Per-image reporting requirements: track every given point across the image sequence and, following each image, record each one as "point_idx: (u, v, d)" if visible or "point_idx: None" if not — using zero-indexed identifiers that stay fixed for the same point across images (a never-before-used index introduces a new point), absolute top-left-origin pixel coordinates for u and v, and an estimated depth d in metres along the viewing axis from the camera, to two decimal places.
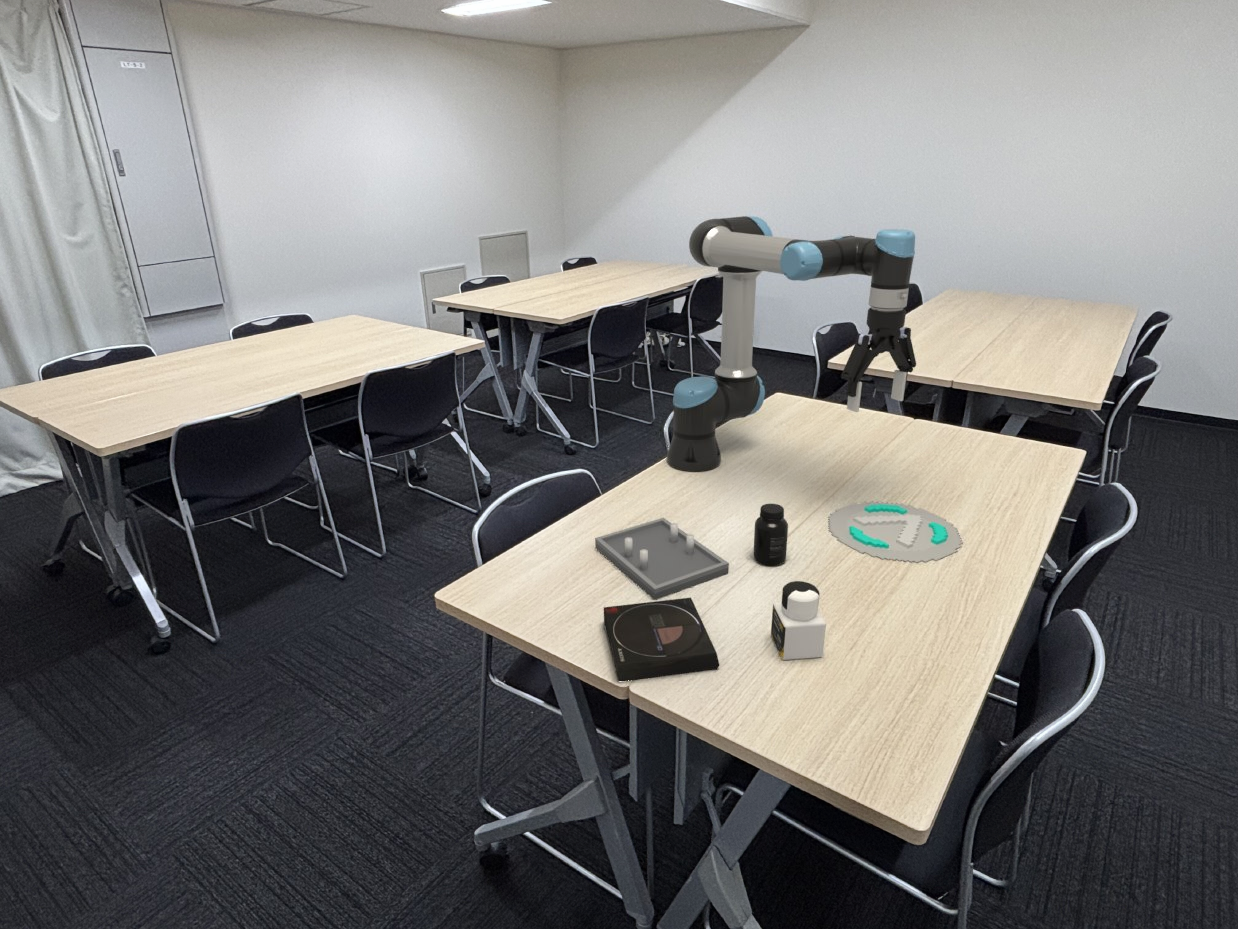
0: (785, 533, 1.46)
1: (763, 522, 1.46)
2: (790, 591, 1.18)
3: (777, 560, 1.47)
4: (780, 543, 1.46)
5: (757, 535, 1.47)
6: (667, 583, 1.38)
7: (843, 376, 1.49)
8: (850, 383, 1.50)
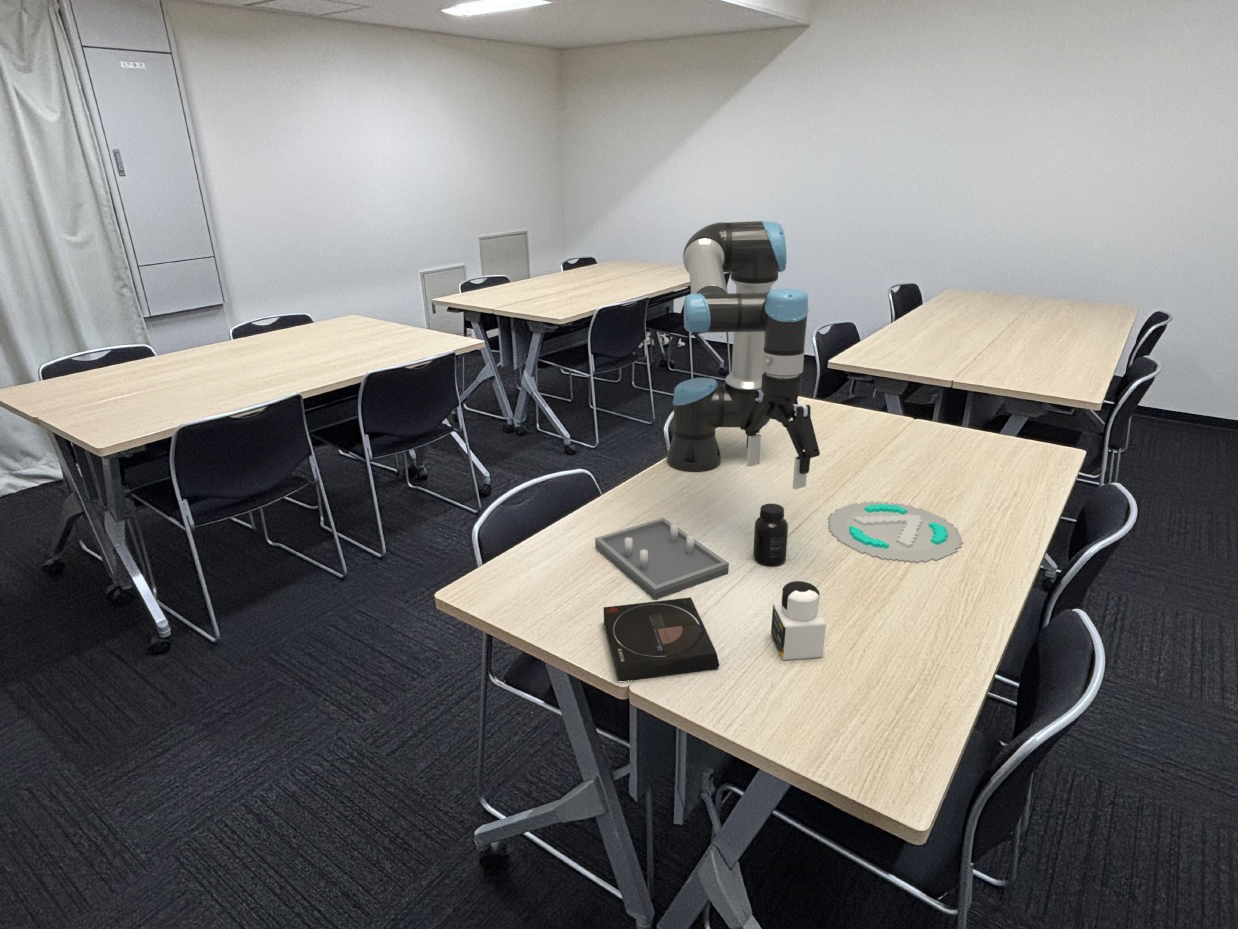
0: (785, 533, 1.46)
1: (763, 522, 1.46)
2: (790, 591, 1.18)
3: (777, 560, 1.47)
4: (780, 543, 1.46)
5: (757, 535, 1.47)
6: (667, 583, 1.38)
7: None
8: None
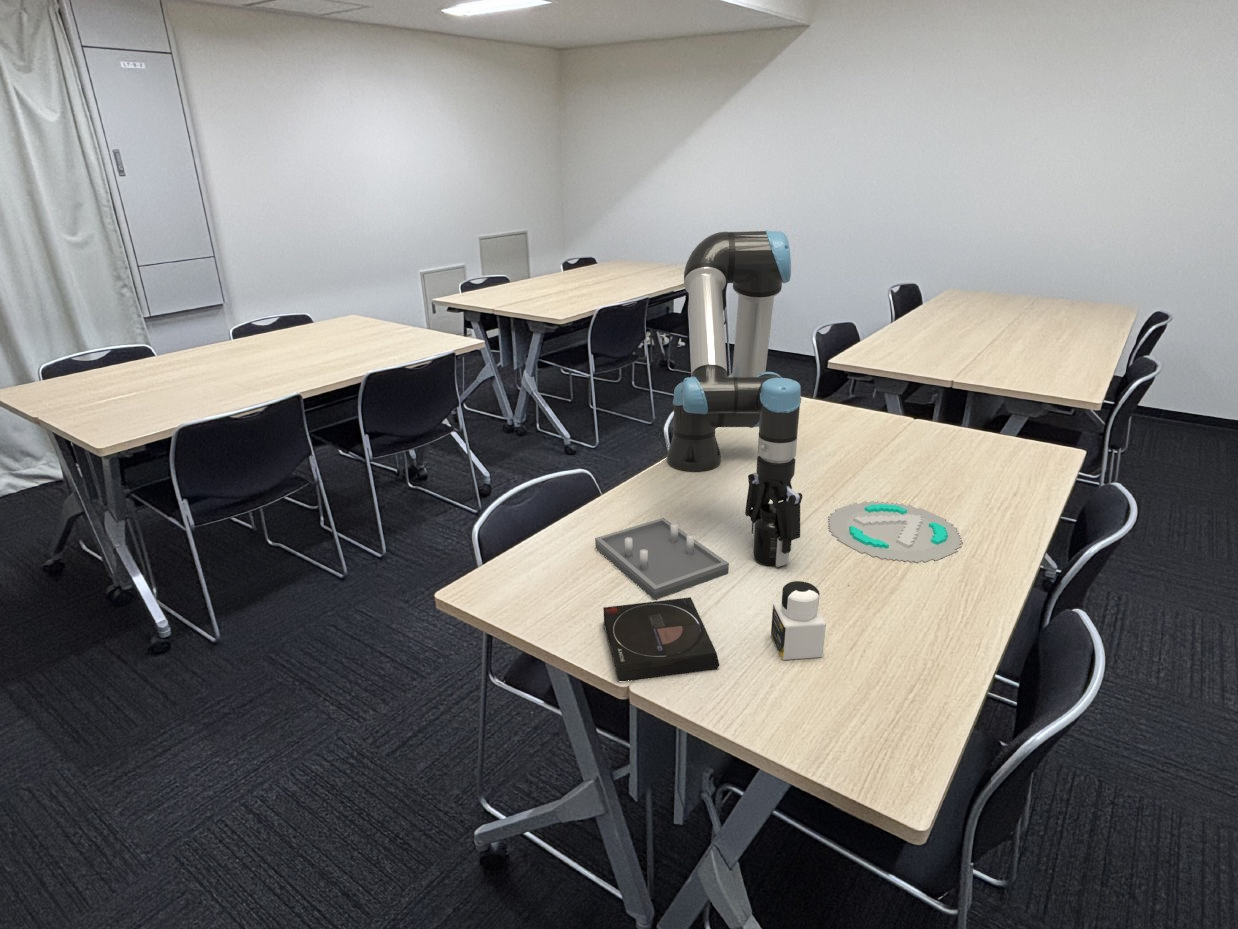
0: None
1: (763, 522, 1.46)
2: (790, 591, 1.18)
3: None
4: None
5: (757, 535, 1.47)
6: (667, 583, 1.38)
7: None
8: None
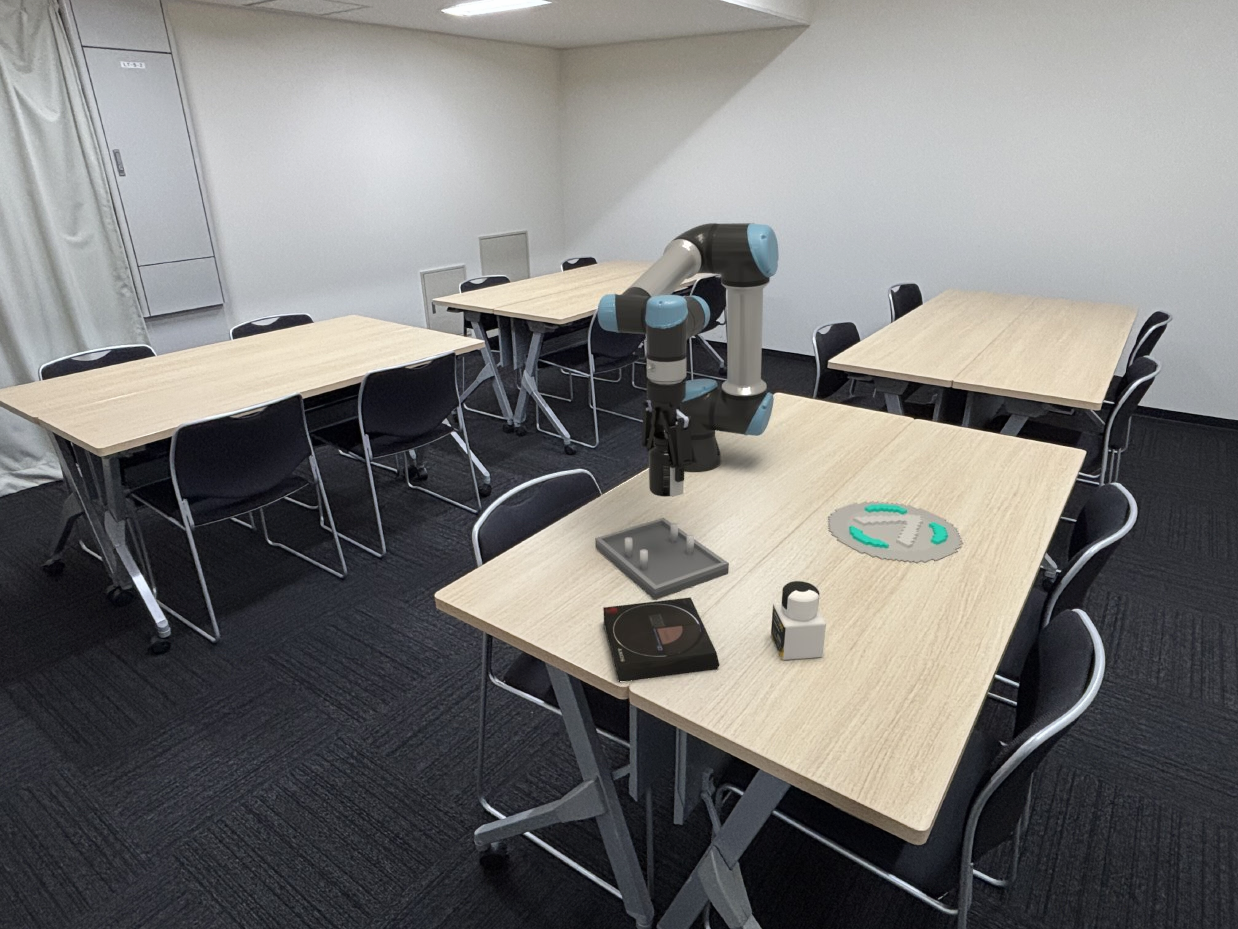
0: None
1: (656, 450, 1.40)
2: (790, 591, 1.18)
3: None
4: None
5: (650, 464, 1.41)
6: (667, 583, 1.38)
7: None
8: None
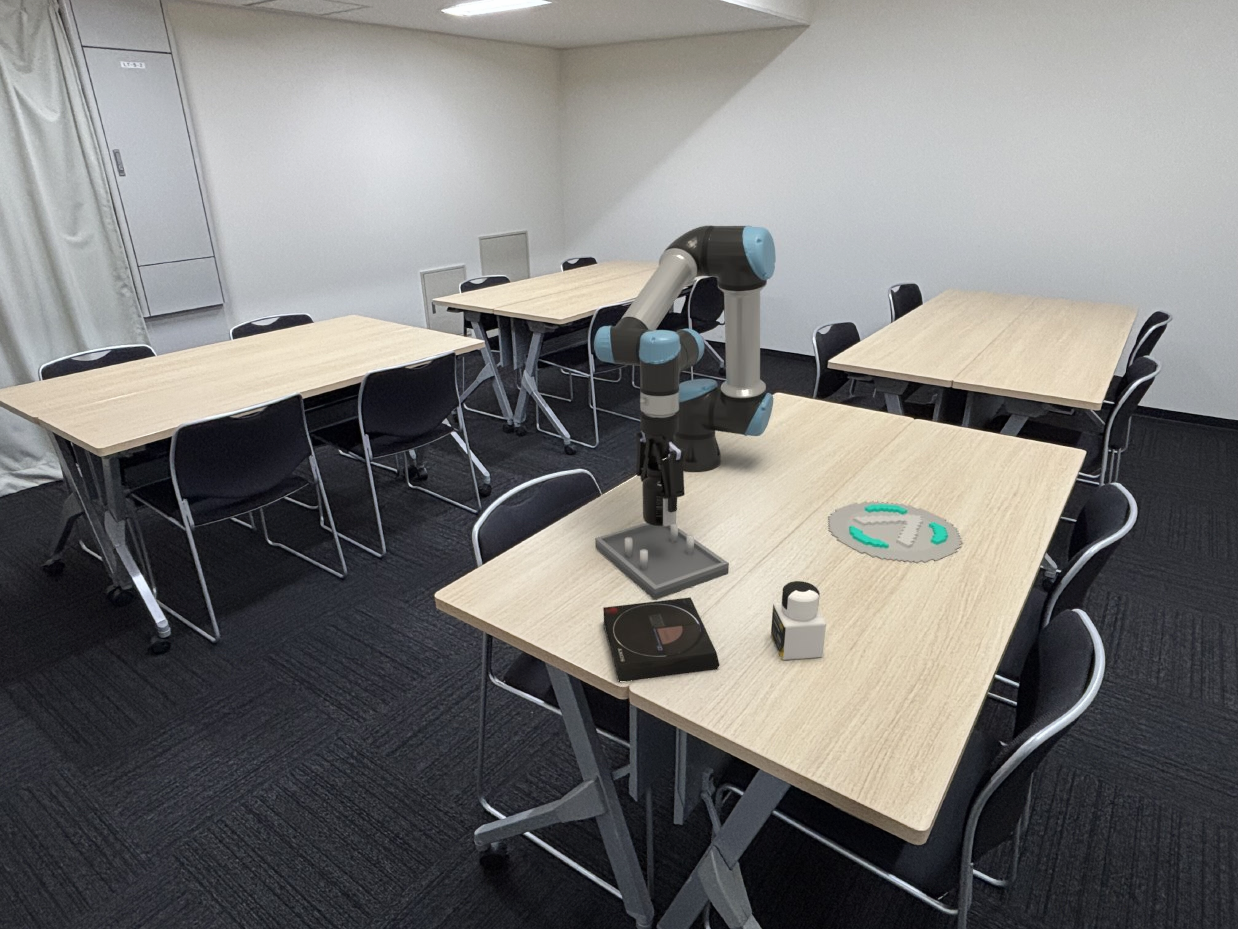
0: None
1: (649, 480, 1.42)
2: (791, 591, 1.18)
3: None
4: None
5: (644, 494, 1.43)
6: (667, 583, 1.38)
7: None
8: None
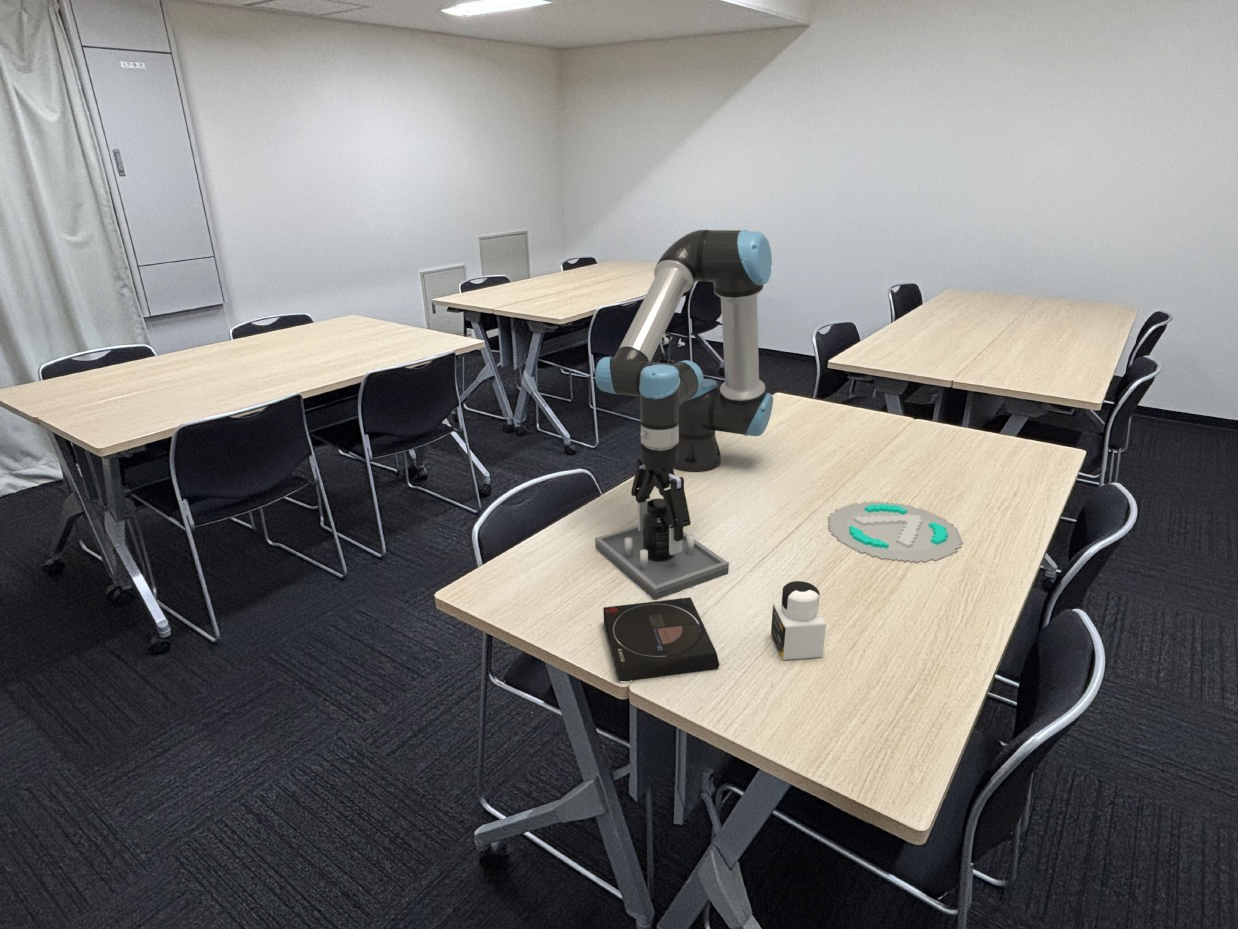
0: None
1: (650, 517, 1.46)
2: (790, 591, 1.18)
3: (664, 555, 1.47)
4: (666, 538, 1.46)
5: (644, 530, 1.47)
6: (667, 583, 1.38)
7: None
8: None
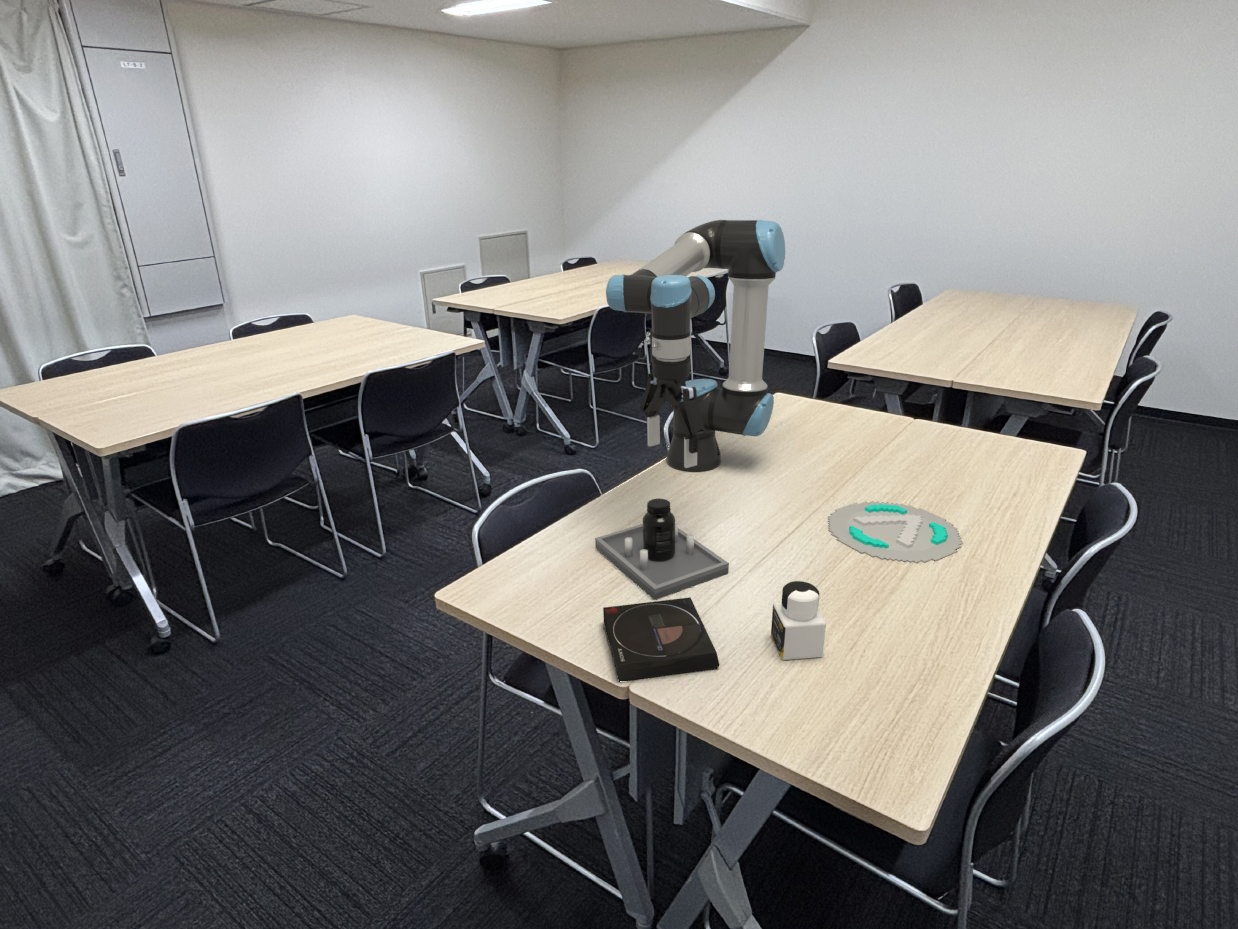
0: (671, 528, 1.46)
1: (649, 517, 1.46)
2: (790, 591, 1.18)
3: (664, 555, 1.47)
4: (666, 538, 1.46)
5: (644, 530, 1.47)
6: (667, 583, 1.38)
7: None
8: None
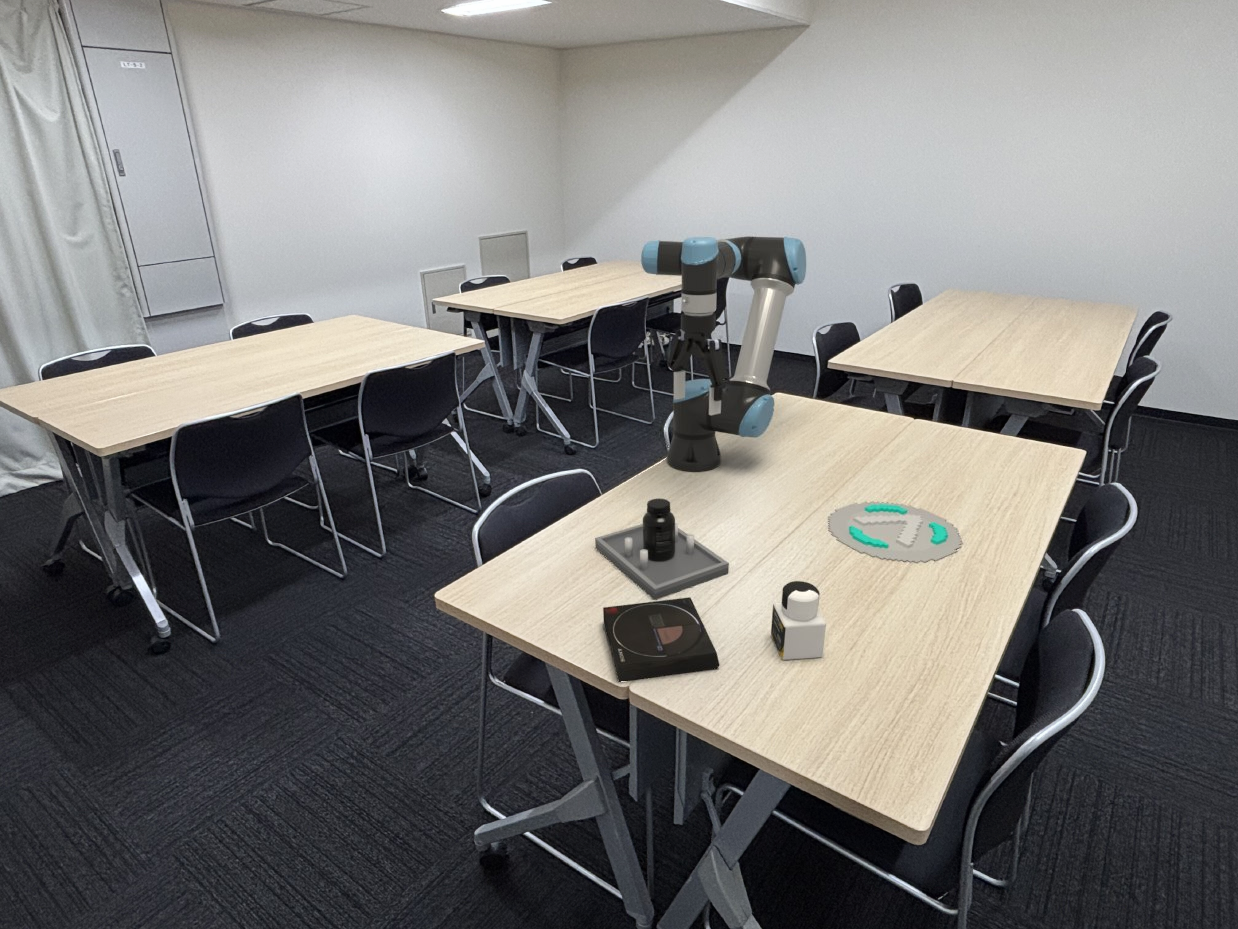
0: (671, 528, 1.46)
1: (649, 517, 1.46)
2: (790, 591, 1.18)
3: (664, 555, 1.47)
4: (666, 538, 1.46)
5: (644, 530, 1.47)
6: (667, 583, 1.38)
7: None
8: None
